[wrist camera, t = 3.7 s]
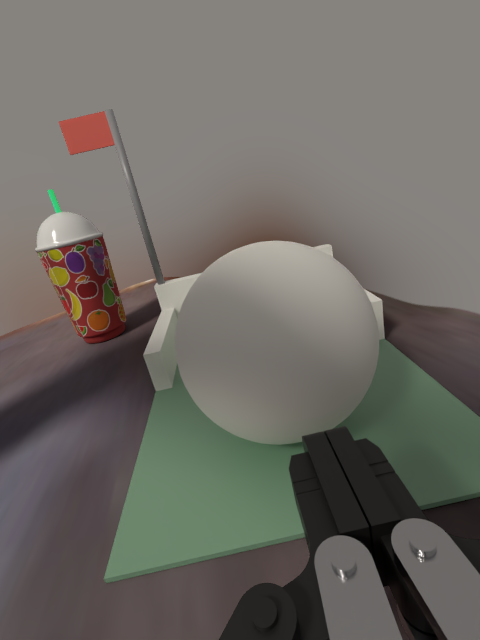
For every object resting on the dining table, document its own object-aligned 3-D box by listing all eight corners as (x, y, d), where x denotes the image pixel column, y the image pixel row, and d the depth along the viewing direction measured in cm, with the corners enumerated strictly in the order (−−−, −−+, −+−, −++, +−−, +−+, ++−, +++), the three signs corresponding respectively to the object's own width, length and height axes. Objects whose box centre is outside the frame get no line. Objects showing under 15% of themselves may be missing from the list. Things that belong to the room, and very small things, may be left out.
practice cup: (16, 604, 16) (-521, -157, 7) (139, 343, 43) (62, 123, 35) (549, 480, 16) (679, -429, 7) (334, 298, 43) (306, 67, 35)
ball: (200, 518, 18) (123, 299, 13) (204, 392, 29) (163, 251, 25) (428, 465, 18) (423, 230, 13) (343, 360, 29) (326, 214, 25)
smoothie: (101, 325, 55) (51, 194, 48) (145, 321, 52) (98, 180, 45) (62, 350, 47) (-4, 200, 40) (111, 347, 44) (48, 184, 37)
